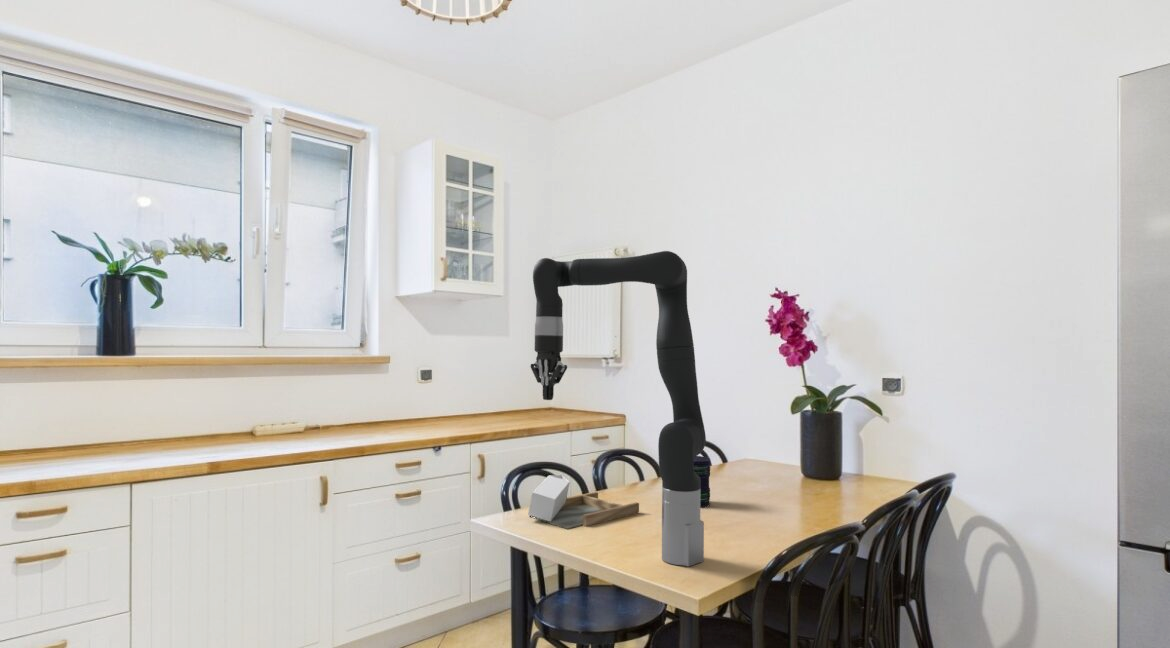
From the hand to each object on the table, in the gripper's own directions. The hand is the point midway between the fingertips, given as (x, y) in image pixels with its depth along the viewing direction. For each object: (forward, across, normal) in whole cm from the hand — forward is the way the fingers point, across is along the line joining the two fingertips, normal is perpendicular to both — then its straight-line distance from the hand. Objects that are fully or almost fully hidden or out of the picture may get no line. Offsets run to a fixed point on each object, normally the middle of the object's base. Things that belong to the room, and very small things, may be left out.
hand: (547, 399), depth 163 cm
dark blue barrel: (+37, -1, -63) cm, 73 cm away
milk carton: (+32, +14, -10) cm, 36 cm away
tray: (+37, +13, -26) cm, 47 cm away
